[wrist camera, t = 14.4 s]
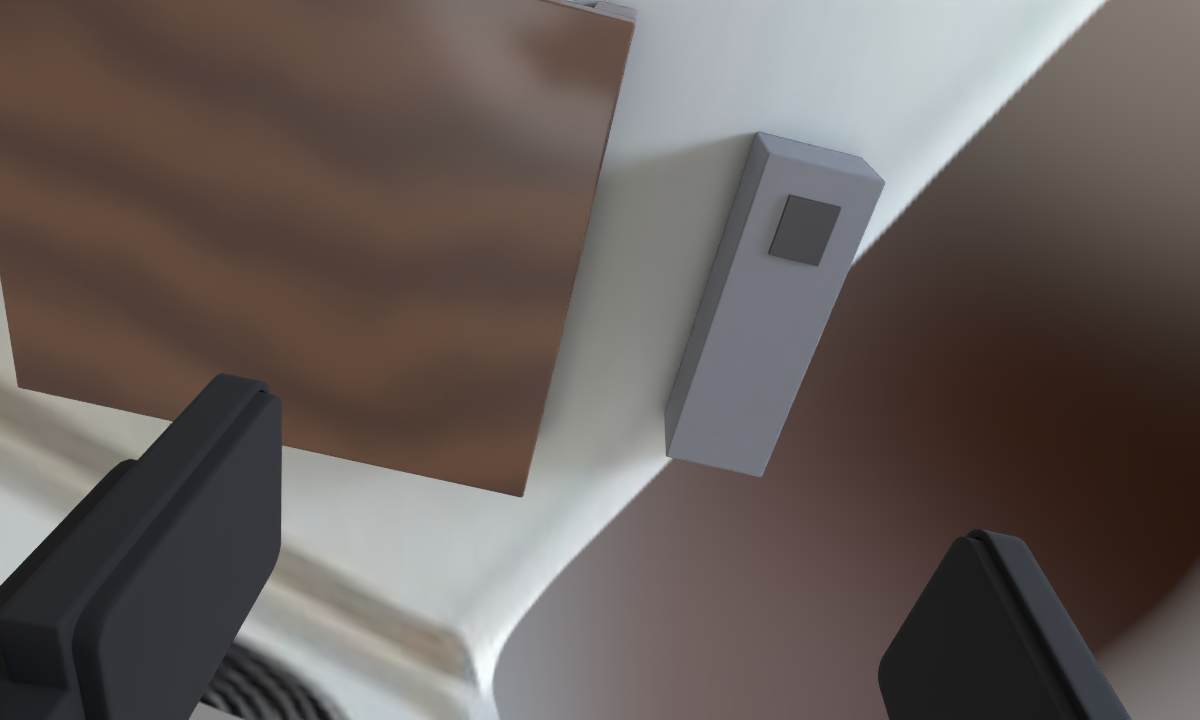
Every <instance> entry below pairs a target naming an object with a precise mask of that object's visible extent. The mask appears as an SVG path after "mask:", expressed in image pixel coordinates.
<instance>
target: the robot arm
mask: <svg viewBox="0 0 1200 720" xmlns="http://www.w3.org/2000/svg"><path fill="white" fill-rule="evenodd" d="M281 467H282V401H281V398H280V397H279V396H277V395H273V394H270V389H269V386H268V384H267V383H266V382H264V381H260V380H255V379H250V378H245V377H240V376H236V375H231V374H226V373H221V374H218V375H217V376H216V377H214V378H213V379H212V380H211V381H210V383H209V384H208V385H207V386H206V387H205V388H204V389H203V390H202V391H201V392H200V393H199V394H198V395H197V397H196V398H195V399H194V400H193V401H192V402H191V403H190V404H189V405H188V406H187V407H186V408H185V410H184V411H183V412H182V413H181V414H180V415H179V416H178V417H177V418H176V419H175V420H174V421H173V423H172V424H171V425H170V426H169V427H168V428H167V429H166V430H165V431H164V432H163V433H162V434H161V436H160V437H159V438H158V439H157V440H156V441H155V442H154V443H153V444H152V445H151V446H150V447H149V448H148V450H147V451H146V452H145V453H144V454H143V455H142V456H141V457H140V458H139V459H138V460H133V459H128V460H125V461H123V462H120V463H119V464H118V465H117V466H115V467H114V468H113V469H112V470H111V471H110V472H109V473H108V474H107V475H106V476H105V477H104V478H103V479H102V480H101V481H100V482H99V483H98V484H97V485H96V486H95V487H94V488H93V489H92V490H91V491H90V493H89V494H88V495H87V496H86V497H85V498H84V499H83V500H82V501H81V502H80V503H79V504H78V505H77V506H76V507H75V508H74V509H73V510H72V511H71V512H70V513H69V514H68V516H67V517H66V518H65V519H64V520H63V521H62V522H61V523H60V524H59V525H58V526H57V527H56V528H55V529H54V530H53V531H52V532H51V533H50V534H49V535H48V536H47V538H46V539H45V540H44V541H43V542H42V543H41V544H40V545H39V546H38V547H37V548H36V549H35V550H34V551H33V552H32V553H31V554H30V555H29V556H28V557H27V558H26V559H25V561H24V562H23V563H22V564H21V565H20V566H19V567H18V568H17V569H16V570H15V571H14V572H13V573H12V574H11V575H10V576H9V577H8V578H7V579H6V580H5V581H4V582H3V584H2V585H1V586H0V720H189V718H190V716H191V714H192V712H193V711H194V709H195V707H196V706H197V704H198V702H199V700H200V698H201V697H202V695H203V693H204V691H205V690H206V688H207V686H208V684H209V682H210V681H211V679H212V677H213V675H214V674H215V672H216V670H217V668H218V667H219V665H220V663H221V661H222V659H223V658H224V656H225V654H226V652H227V651H228V649H229V647H230V645H231V644H232V642H233V640H234V638H235V636H236V635H237V633H238V631H239V629H240V628H241V626H242V624H243V622H244V621H245V619H246V617H247V615H248V613H249V612H250V610H251V608H252V606H253V605H254V603H255V601H256V599H257V598H258V596H259V594H260V592H261V590H262V589H263V587H264V585H265V583H266V582H267V580H268V578H269V576H270V574H271V573H272V571H273V569H274V567H275V564H276V562H277V559H278V555H279V552H280V546H281ZM878 682H879V686H880V690H881V693H882V697H883V700H884V703H885V707H886V710H887V713H888V717H889V720H1131V718H1130V716H1129V715H1128V713H1127V711H1126V710H1125V708H1124V706H1123V705H1122V703H1121V702H1120V700H1119V698H1118V696H1117V695H1116V693H1115V692H1114V690H1113V688H1112V686H1111V685H1110V683H1109V681H1108V680H1107V678H1106V677H1105V675H1104V673H1103V671H1102V670H1101V668H1100V667H1099V665H1098V663H1097V662H1096V660H1095V658H1094V657H1093V655H1092V653H1091V651H1090V650H1089V648H1088V647H1087V645H1086V643H1085V642H1084V640H1083V638H1082V637H1081V635H1080V633H1079V632H1078V630H1077V628H1076V627H1075V625H1074V623H1073V622H1072V620H1071V618H1070V617H1069V615H1068V613H1067V612H1066V610H1065V608H1064V607H1063V605H1062V603H1061V602H1060V600H1059V598H1058V597H1057V595H1056V594H1055V592H1054V590H1053V589H1052V587H1051V585H1050V583H1049V582H1048V580H1047V578H1046V577H1045V575H1044V573H1043V572H1042V570H1041V568H1040V567H1039V565H1038V563H1037V562H1036V560H1035V558H1034V557H1033V555H1032V553H1031V552H1030V550H1029V548H1028V547H1027V545H1026V544H1025V543H1024V542H1023V540H1021V539H1020V538H1017V537H1015V536H1010V535H1005V534H1000V533H995V532H991V531H986V530H981V529H977V530H973V531H971V532H969V533H968V535H967V536H966V537H959V538H957V539H956V540H955V541H954V542H953V544H952V545H951V547H950V548H949V550H948V552H947V554H946V555H945V557H944V558H943V560H942V561H941V563H940V565H939V567H938V568H937V570H936V571H935V573H934V575H933V576H932V578H931V579H930V581H929V583H928V584H927V586H926V587H925V589H924V591H923V592H922V594H921V596H920V597H919V599H918V601H917V602H916V604H915V605H914V607H913V609H912V610H911V612H910V613H909V615H908V617H907V618H906V620H905V622H904V623H903V625H902V626H901V628H900V630H899V631H898V633H897V635H896V636H895V638H894V639H893V641H892V643H891V644H890V646H889V648H888V649H887V651H886V652H885V654H884V656H883V657H882V659H881V662H880V666H879V671H878Z"/></svg>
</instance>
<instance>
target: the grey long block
mask: <svg viewBox="0 0 1200 720" xmlns="http://www.w3.org/2000/svg"><path fill="white" fill-rule="evenodd" d="M884 185H885V181H884V180H883V179H882V178H881V177H880V176H879V175H878V174H877V173H876V172H875V171H874V169H873V168H872V167H871V166H870V165H869V164H868V163H867V162H866V161H865V160H864V159H863V158H861V157H857V156H853V155H849V154H845V153H841V152H837V151H833V150H829V149H825V148H821V147H817V146H813V145H809V144H805V143H801V142H798V141H794V140H790V139H786V138H782V137H778V136H774V135H770V134H766V133H762V132H757V133H756V136H755V139H754V142H753V145H752V148H751V151H750V154H749V157H748V160H747V163H746V166H745V169H744V172H743V175H742V178H741V181H740V185H739V188H738V191H737V194H736V197H735V200H734V203H733V206H732V209H731V212H730V215H729V218H728V221H727V224H726V227H725V230H724V234H723V237H722V240H721V243H720V246H719V249H718V252H717V255H716V258H715V261H714V264H713V267H712V270H711V273H710V276H709V279H708V283H707V286H706V289H705V292H704V295H703V298H702V301H701V304H700V307H699V310H698V313H697V316H696V319H695V322H694V325H693V328H692V332H691V335H690V338H689V341H688V344H687V347H686V350H685V353H684V356H683V359H682V362H681V365H680V368H679V371H678V374H677V377H676V381H675V384H674V387H673V390H672V393H671V396H670V399H669V402H668V405H667V408H666V411H665V414H664V415H665V441H666V456H667V457H671V458H676V459H681V460H685V461H689V462H694V463H698V464H703V465H708V466H712V467H716V468H721V469H725V470H730V471H734V472H739V473H743V474H748V475H753V476H757V477H762V475H763V472H764V470H765V468H766V465H767V463H768V461H769V458H770V456H771V453H772V451H773V448H774V446H775V444H776V441H777V439H778V437H779V434H780V432H781V430H782V427H783V425H784V423H785V420H786V418H787V415H788V413H789V411H790V408H791V406H792V403H793V401H794V399H795V396H796V394H797V391H798V389H799V387H800V384H801V382H802V380H803V377H804V375H805V373H806V370H807V368H808V365H809V363H810V361H811V358H812V356H813V354H814V351H815V349H816V346H817V344H818V342H819V339H820V337H821V335H822V332H823V330H824V327H825V325H826V323H827V320H828V318H829V315H830V313H831V311H832V308H833V306H834V304H835V301H836V299H837V297H838V294H839V292H840V289H841V287H842V285H843V282H844V280H845V278H846V275H847V273H848V270H849V268H850V266H851V263H852V261H853V259H854V256H855V254H856V251H857V249H858V247H859V244H860V242H861V240H862V237H863V235H864V232H865V230H866V228H867V225H868V223H869V221H870V218H871V216H872V213H873V211H874V209H875V206H876V204H877V201H878V199H879V197H880V194H881V192H882V190H883V187H884Z"/></svg>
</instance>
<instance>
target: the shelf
mask: <svg viewBox="0 0 1200 720" xmlns="http://www.w3.org/2000/svg"><path fill="white" fill-rule="evenodd" d="M636 14H637V11H636V10H634V9H630V8H626V7H623V6H619V5H615V4H611V3H607V2H604V1H598V3H597V4H596V6H595V7H594V8H592V7H588V6H584V5H580V4H577V3H573V2H569V1H565V0H0V278H1V284H2V290H3V296H4V303H5V309H6V315H7V321H8V327H9V334H10V340H11V346H12V352H13V359H14V365H15V371H16V377H17V383H18V387H19V388H23V389H28V390H32V391H37V392H41V393H46V394H50V395H55V396H60V397H64V398H69V399H73V400H78V401H82V402H87V403H92V404H96V405H101V406H105V407H110V408H114V409H119V410H124V411H128V412H133V413H137V414H142V415H147V416H151V417H156V418H160V419H165V420H169V421H174V420H175V419H176V418H177V417H178V416H179V415H180V414H181V413H182V412H183V411H184V410H185V408H186V407H187V406H188V405H189V404H190V403H191V402H192V401H193V400H194V399H195V398H196V397H197V395H198V394H199V393H200V392H201V391H202V390H203V389H204V388H205V387H206V386H207V385H208V384H209V383H210V381H211V380H212V379H213V378H214V377H216V376H217V375H218V374H221V373H226V374H231V375H236V376H240V377H245V378H250V379H255V380H260V381H264V382H266V383H267V384H268V386H269V389H270V394H273V395H277V396H279V397H280V398H281V401H282V445H284V446H288V447H293V448H297V449H302V450H307V451H311V452H316V453H320V454H325V455H329V456H334V457H339V458H343V459H348V460H352V461H357V462H361V463H366V464H371V465H375V466H380V467H384V468H389V469H393V470H398V471H403V472H407V473H412V474H416V475H421V476H425V477H430V478H435V479H439V480H444V481H448V482H453V483H457V484H462V485H467V486H471V487H476V488H480V489H485V490H489V491H494V492H499V493H503V494H508V495H512V496H517V497H523V495H524V491H525V486H526V482H527V478H528V474H529V470H530V465H531V461H532V457H533V453H534V449H535V444H536V440H537V436H538V432H539V428H540V423H541V419H542V415H543V411H544V407H545V402H546V398H547V394H548V390H549V385H550V381H551V377H552V373H553V369H554V364H555V360H556V356H557V352H558V348H559V343H560V339H561V335H562V331H563V327H564V322H565V318H566V314H567V310H568V306H569V301H570V297H571V293H572V289H573V285H574V280H575V276H576V272H577V268H578V263H579V259H580V255H581V251H582V247H583V242H584V238H585V234H586V230H587V226H588V221H589V217H590V213H591V209H592V205H593V200H594V196H595V192H596V188H597V184H598V179H599V175H600V171H601V167H602V163H603V158H604V154H605V150H606V146H607V142H608V137H609V133H610V129H611V125H612V120H613V116H614V112H615V108H616V104H617V99H618V95H619V91H620V87H621V83H622V78H623V74H624V70H625V66H626V62H627V57H628V53H629V49H630V45H631V41H632V36H633V32H634V28H635V22H636Z"/></svg>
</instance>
